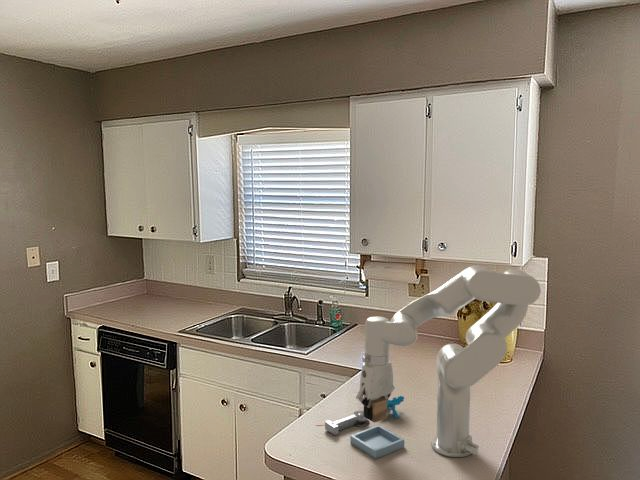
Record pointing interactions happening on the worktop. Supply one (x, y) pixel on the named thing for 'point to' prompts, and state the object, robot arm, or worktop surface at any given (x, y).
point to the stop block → (378, 409)
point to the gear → (392, 404)
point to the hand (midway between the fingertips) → (375, 415)
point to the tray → (377, 441)
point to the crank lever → (345, 422)
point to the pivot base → (354, 425)
